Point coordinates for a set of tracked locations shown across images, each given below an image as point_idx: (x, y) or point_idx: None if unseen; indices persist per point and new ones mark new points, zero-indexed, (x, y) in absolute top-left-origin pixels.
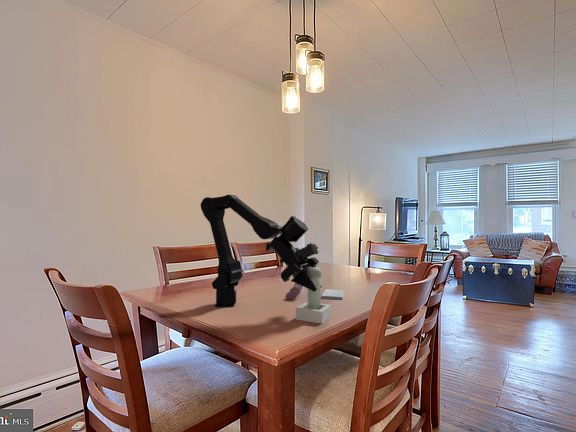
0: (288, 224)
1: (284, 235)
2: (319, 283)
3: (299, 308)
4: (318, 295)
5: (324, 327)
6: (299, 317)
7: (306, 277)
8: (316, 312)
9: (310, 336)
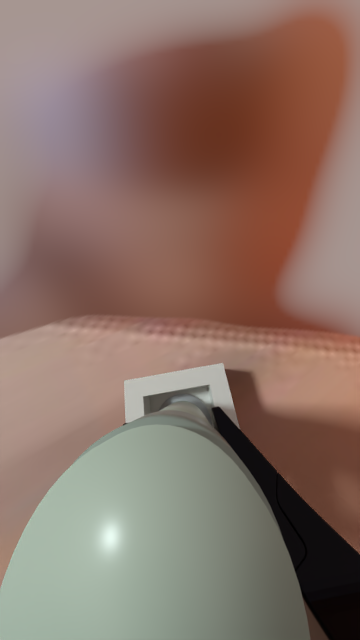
0: None
1: None
2: (178, 409)
3: None
4: (188, 405)
5: (237, 349)
6: None
7: (335, 532)
8: (228, 385)
9: (315, 344)
